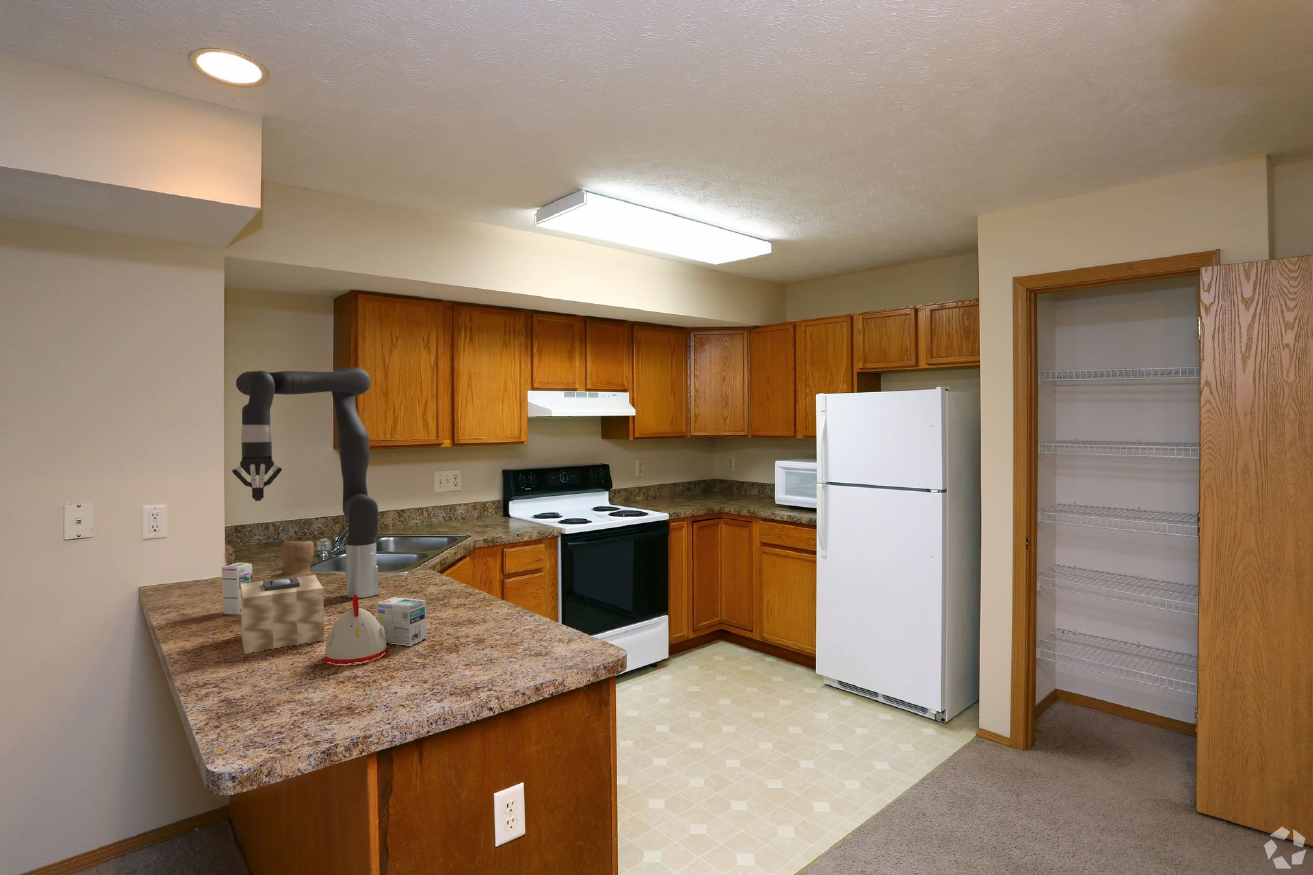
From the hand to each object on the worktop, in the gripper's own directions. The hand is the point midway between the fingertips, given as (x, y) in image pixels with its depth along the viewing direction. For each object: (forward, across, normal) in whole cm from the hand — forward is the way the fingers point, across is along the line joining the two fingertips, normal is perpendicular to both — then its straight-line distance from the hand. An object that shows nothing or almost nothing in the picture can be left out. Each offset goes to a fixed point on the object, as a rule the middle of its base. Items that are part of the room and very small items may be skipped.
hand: (257, 500), depth 195 cm
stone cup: (+35, -13, -49) cm, 62 cm away
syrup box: (+35, +5, -15) cm, 39 cm away
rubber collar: (+21, -4, +21) cm, 30 cm away
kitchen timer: (+35, -18, +47) cm, 61 cm away
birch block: (+35, -4, +21) cm, 41 cm away
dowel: (+32, -4, +21) cm, 38 cm away
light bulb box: (+35, -30, +42) cm, 63 cm away
